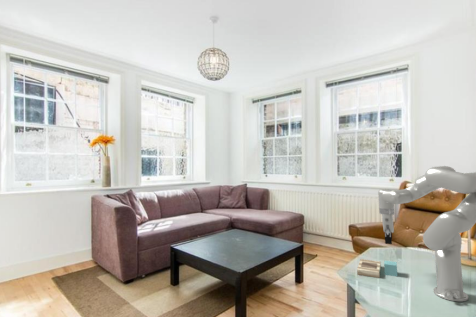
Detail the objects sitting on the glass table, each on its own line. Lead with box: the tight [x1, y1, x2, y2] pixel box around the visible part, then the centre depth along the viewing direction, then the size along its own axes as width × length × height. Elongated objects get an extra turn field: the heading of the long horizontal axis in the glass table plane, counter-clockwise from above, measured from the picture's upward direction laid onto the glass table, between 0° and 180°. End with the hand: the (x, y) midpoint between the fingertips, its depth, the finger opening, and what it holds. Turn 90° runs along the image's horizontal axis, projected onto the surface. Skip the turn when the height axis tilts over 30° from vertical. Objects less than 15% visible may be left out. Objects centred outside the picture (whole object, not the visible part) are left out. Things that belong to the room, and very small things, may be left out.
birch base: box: [356, 258, 382, 279], centre depth 153 cm, size 18×11×3 cm, turn 149°
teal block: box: [383, 260, 398, 277], centre depth 148 cm, size 6×6×6 cm
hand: (388, 241), depth 149 cm, fingers open, 9 cm apart
